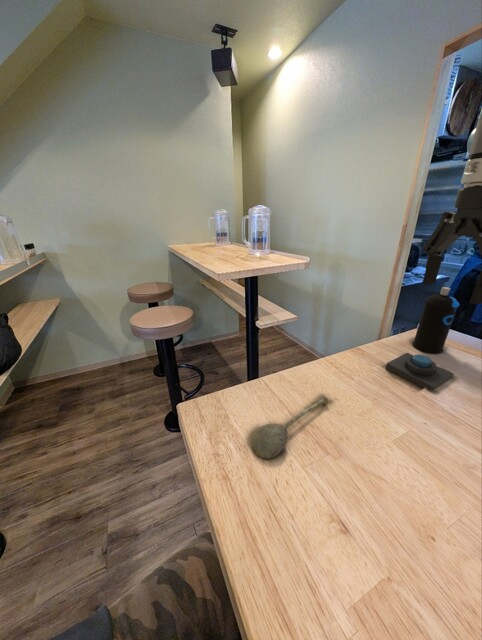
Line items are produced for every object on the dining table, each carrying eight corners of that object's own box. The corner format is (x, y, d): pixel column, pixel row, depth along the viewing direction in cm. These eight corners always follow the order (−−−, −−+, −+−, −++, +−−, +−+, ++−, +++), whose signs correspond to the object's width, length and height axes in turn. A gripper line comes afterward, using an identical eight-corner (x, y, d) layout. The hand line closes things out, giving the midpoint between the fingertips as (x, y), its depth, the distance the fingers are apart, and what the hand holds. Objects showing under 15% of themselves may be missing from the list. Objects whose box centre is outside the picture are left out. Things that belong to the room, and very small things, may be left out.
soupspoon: (245, 444, 52) (266, 469, 47) (245, 433, 50) (266, 458, 46) (315, 394, 63) (337, 411, 58) (316, 384, 61) (340, 400, 57)
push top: (432, 365, 67) (434, 359, 66) (424, 370, 65) (426, 364, 64) (416, 358, 70) (418, 352, 69) (408, 362, 68) (410, 357, 67)
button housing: (451, 380, 66) (456, 367, 65) (431, 394, 62) (435, 381, 60) (405, 358, 76) (408, 347, 74) (385, 369, 72) (387, 357, 70)
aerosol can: (409, 348, 81) (426, 289, 73) (415, 338, 86) (431, 282, 78) (440, 357, 76) (463, 294, 67) (444, 346, 81) (465, 287, 73)
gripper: (419, 189, 58) (399, 278, 67) (540, 180, 36) (485, 315, 45) (451, 187, 59) (427, 276, 68) (591, 177, 36) (526, 313, 45)
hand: (450, 292), depth 56 cm, fingers open, 13 cm apart
